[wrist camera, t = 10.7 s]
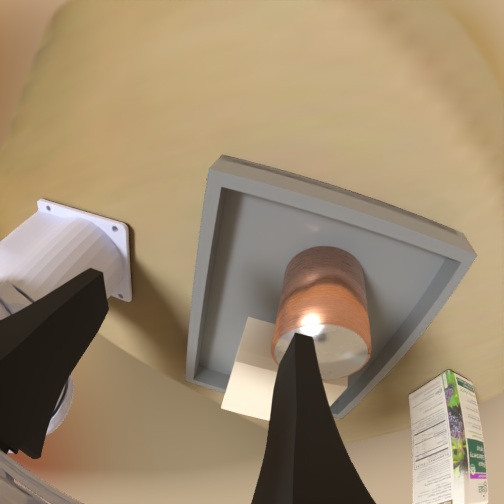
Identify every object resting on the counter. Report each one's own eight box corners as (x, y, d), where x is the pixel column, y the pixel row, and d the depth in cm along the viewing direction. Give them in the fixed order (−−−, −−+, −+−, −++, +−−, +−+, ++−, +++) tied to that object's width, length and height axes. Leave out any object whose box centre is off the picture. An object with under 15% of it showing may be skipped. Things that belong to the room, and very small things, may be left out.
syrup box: (474, 381, 25) (492, 502, 13) (434, 406, 28) (441, 519, 17) (448, 367, 24) (466, 507, 12) (405, 395, 28) (409, 523, 16)
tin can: (276, 297, 22) (261, 370, 17) (295, 236, 18) (284, 311, 14) (346, 314, 21) (347, 388, 16) (376, 258, 18) (389, 334, 13)
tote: (192, 361, 30) (184, 380, 28) (222, 154, 17) (208, 168, 15) (342, 398, 29) (341, 418, 27) (463, 233, 17) (477, 255, 15)
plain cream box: (231, 370, 28) (220, 408, 25) (248, 316, 23) (235, 360, 20) (312, 390, 28) (308, 428, 24) (347, 342, 23) (347, 387, 20)
